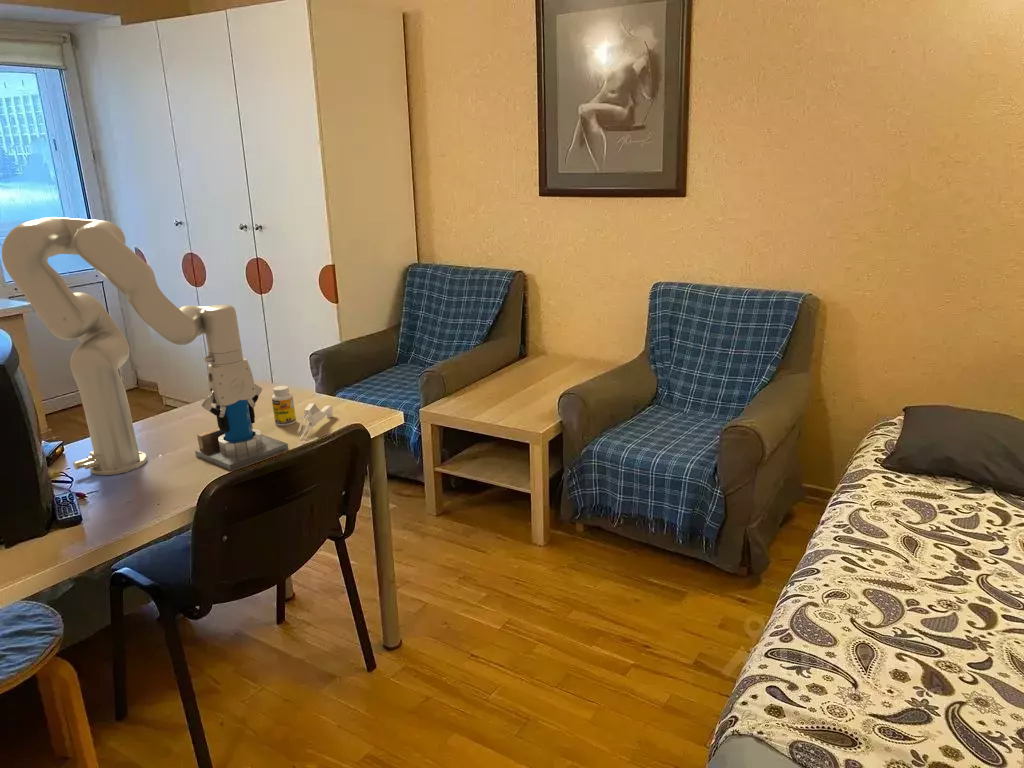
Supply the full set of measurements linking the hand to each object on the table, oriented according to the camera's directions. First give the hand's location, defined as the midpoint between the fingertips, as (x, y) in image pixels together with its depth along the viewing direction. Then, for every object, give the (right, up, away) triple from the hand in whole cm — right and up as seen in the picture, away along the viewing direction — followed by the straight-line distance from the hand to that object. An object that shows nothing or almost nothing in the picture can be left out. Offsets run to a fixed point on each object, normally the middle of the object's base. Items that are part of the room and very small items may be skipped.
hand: (237, 425), depth 191 cm
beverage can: (0, -4, +1) cm, 4 cm away
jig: (0, -7, +2) cm, 7 cm away
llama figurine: (+15, -2, +16) cm, 23 cm away
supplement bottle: (+6, -1, +22) cm, 22 cm away
